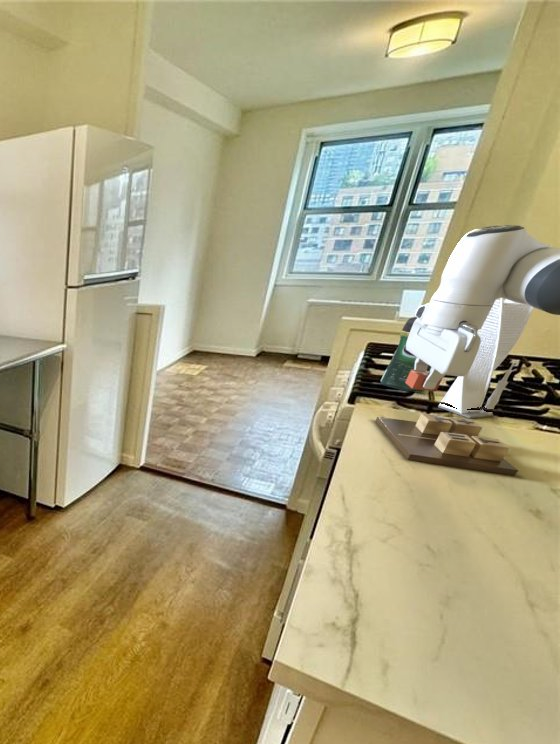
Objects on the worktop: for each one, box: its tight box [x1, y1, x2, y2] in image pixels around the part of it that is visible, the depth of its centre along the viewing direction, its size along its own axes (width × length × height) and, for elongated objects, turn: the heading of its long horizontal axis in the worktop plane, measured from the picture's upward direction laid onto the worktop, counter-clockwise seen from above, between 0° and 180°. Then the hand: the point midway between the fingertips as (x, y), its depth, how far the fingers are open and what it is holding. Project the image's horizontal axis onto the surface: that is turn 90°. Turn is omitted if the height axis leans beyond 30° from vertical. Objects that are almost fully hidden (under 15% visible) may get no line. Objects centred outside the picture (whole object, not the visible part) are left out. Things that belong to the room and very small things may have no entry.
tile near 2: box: [415, 413, 452, 435], centre depth 103 cm, size 4×4×3 cm
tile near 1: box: [448, 416, 483, 438], centre depth 101 cm, size 4×4×3 cm
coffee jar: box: [380, 316, 431, 393], centre depth 127 cm, size 10×8×19 cm
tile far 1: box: [471, 435, 510, 462], centre depth 93 cm, size 4×4×3 cm
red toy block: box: [405, 370, 443, 392], centre depth 100 cm, size 5×4×3 cm
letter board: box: [375, 416, 519, 477], centre depth 100 cm, size 16×20×1 cm
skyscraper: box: [437, 298, 534, 419], centre depth 110 cm, size 8×8×28 cm
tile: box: [434, 432, 476, 457], centre depth 94 cm, size 4×4×3 cm
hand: (421, 383), depth 100 cm, fingers closed on red toy block, 4 cm apart
